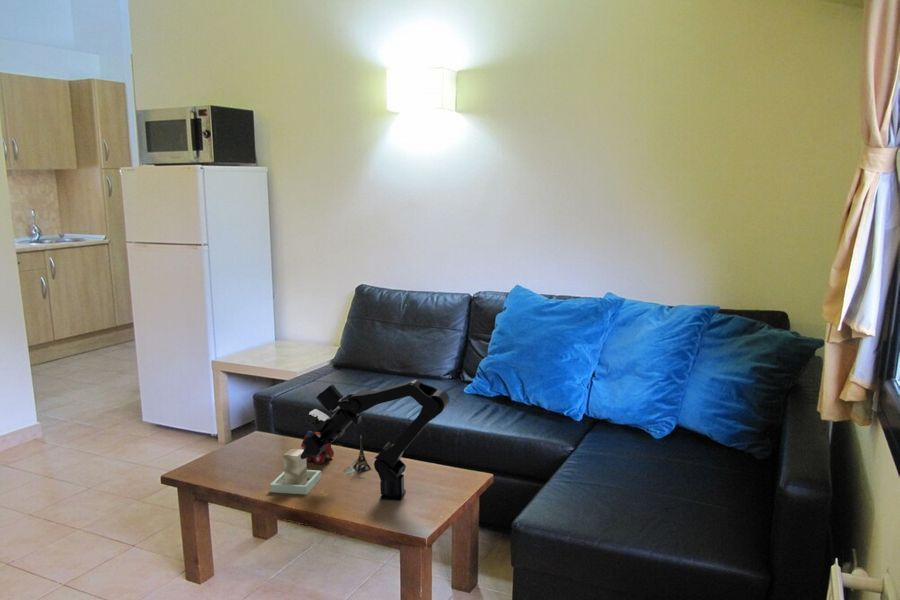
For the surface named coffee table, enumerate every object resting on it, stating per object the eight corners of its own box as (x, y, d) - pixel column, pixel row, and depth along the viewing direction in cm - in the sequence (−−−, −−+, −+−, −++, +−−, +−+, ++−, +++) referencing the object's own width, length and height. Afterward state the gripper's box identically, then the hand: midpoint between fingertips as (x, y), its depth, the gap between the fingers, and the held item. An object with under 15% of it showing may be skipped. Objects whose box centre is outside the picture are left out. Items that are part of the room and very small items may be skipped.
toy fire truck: (309, 453, 241) (308, 426, 239) (337, 459, 235) (336, 430, 234) (297, 460, 235) (295, 432, 233) (326, 466, 229) (324, 437, 228)
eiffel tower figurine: (357, 459, 236) (356, 423, 234) (383, 462, 232) (382, 426, 230) (337, 476, 222) (335, 438, 219) (365, 480, 218) (363, 441, 216)
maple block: (307, 482, 216) (305, 449, 215) (299, 489, 211) (297, 456, 209) (293, 480, 218) (291, 448, 216) (285, 487, 212) (283, 454, 211)
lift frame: (321, 477, 219) (320, 470, 219) (306, 494, 207) (306, 486, 207) (286, 475, 222) (286, 468, 221) (270, 492, 209) (270, 484, 209)
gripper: (334, 394, 216) (305, 424, 221) (307, 412, 199) (276, 444, 203) (357, 419, 215) (327, 449, 220) (332, 439, 198) (300, 471, 202)
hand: (308, 452), depth 211 cm, fingers open, 9 cm apart
